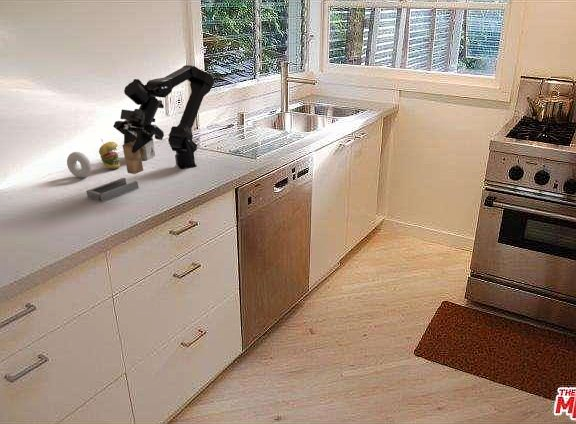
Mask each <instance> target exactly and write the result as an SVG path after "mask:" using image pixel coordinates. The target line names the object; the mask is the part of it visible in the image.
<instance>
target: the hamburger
mask: <svg viewBox="0 0 576 424" xmlns="http://www.w3.org/2000/svg"><path fill="white" fill-rule="evenodd" d="M100 140H101V142H102V143H103V144H102V145H101V146H100V147H99V150H98V153H99V155H100V159H101V160H100V161H101V162H102V164H103V166H104V167H105V168H108V169H112V170H115V169H116V170H117V169H119V168H120V167H121V163H120V162H119V159H120V157H119V153H118V152H116V151H117V150H118V149H117V147H118V144H117V143H116V142H115V141H108V142H105V143H104V140H103V139H102V138H100Z"/></svg>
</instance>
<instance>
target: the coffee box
mask: <svg viewBox="0 0 576 424" xmlns="http://www.w3.org/2000/svg"><path fill="white" fill-rule="evenodd" d="M124 121H125V122H126V123H128V121H129V120H125V119H124ZM128 124H129V125H130V126H132V124H130V123H128ZM134 136H136V137H137V132H134ZM152 139H153V141H150V142H148V143H147V144H145V145H144V146H143V147H141V148H140V154H141V160H142V161H143V160H144V161H145V160H146V161H148V160H151V159H152V158H154V157H156V151H155V144H154V136H153V137H152ZM135 141H136V140H135ZM135 141H134V142H135Z"/></svg>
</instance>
